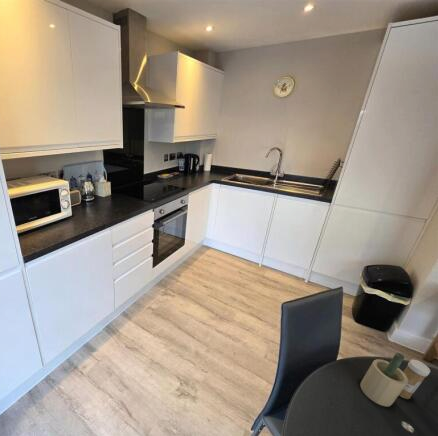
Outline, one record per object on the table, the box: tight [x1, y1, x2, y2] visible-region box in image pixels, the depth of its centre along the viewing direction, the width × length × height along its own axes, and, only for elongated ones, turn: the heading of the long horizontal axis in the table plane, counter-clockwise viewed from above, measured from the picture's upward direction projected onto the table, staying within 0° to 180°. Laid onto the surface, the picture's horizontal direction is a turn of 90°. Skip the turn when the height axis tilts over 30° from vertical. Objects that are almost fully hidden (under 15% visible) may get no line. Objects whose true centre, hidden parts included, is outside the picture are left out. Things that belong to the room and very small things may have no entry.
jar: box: [359, 358, 408, 407], centre depth 80 cm, size 8×8×11 cm
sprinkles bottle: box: [398, 359, 431, 400], centre depth 80 cm, size 5×5×13 cm
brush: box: [383, 352, 405, 378], centre depth 78 cm, size 4×4×18 cm
